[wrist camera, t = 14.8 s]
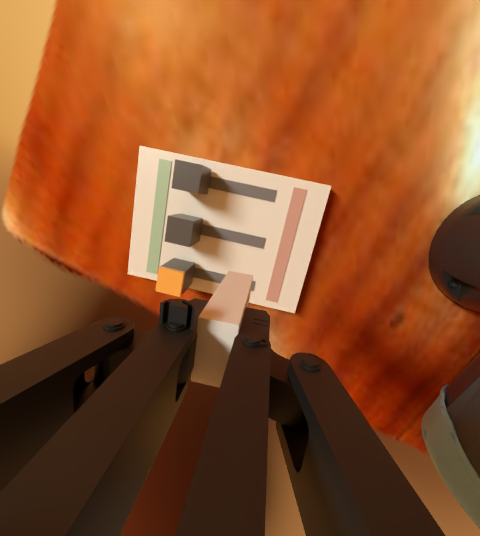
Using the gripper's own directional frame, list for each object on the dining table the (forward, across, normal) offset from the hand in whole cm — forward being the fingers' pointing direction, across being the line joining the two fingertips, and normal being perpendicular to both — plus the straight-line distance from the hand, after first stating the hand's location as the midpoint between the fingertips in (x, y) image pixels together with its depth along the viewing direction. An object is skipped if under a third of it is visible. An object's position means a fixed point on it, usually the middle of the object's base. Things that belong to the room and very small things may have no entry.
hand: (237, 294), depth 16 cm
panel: (+21, +5, -1) cm, 22 cm away
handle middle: (+19, +9, -1) cm, 21 cm away
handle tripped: (+19, +9, +5) cm, 21 cm away
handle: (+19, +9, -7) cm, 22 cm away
